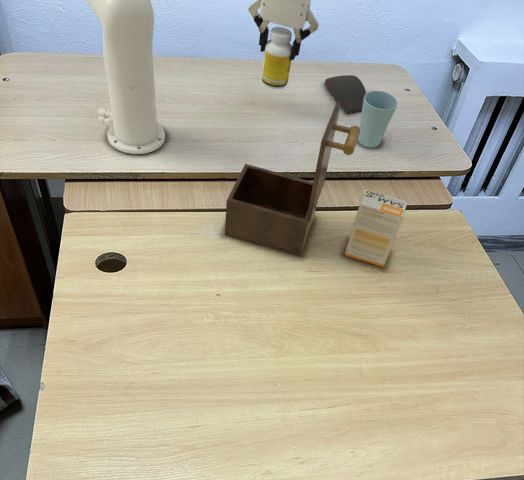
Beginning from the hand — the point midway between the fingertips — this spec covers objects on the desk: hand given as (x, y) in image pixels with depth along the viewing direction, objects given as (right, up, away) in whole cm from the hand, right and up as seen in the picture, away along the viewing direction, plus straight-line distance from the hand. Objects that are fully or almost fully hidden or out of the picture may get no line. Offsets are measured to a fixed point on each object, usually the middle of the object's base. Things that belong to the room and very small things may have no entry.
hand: (278, 52), depth 122 cm
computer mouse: (+18, -2, +17) cm, 25 cm away
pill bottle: (-1, -4, +6) cm, 7 cm away
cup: (+22, -18, +7) cm, 29 cm away
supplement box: (+17, -49, -15) cm, 54 cm away
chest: (-2, -43, -14) cm, 45 cm away
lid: (+7, -35, -28) cm, 46 cm away
